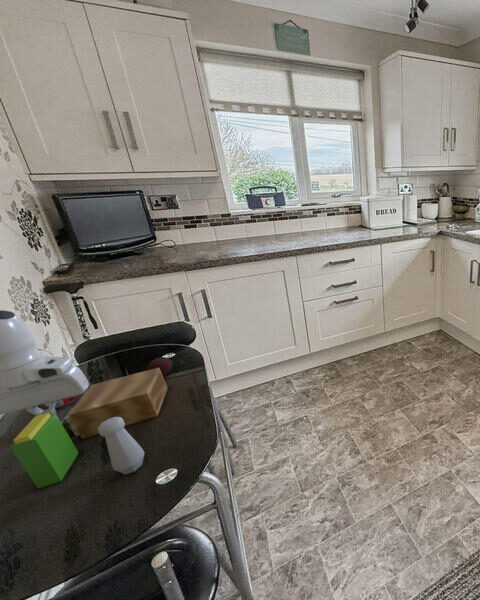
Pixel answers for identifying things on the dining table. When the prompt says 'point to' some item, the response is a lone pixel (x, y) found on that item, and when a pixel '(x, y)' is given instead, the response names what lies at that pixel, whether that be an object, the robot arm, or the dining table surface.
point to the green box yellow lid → (45, 450)
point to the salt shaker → (121, 446)
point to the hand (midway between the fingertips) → (48, 416)
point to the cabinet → (120, 401)
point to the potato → (161, 365)
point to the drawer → (67, 420)
